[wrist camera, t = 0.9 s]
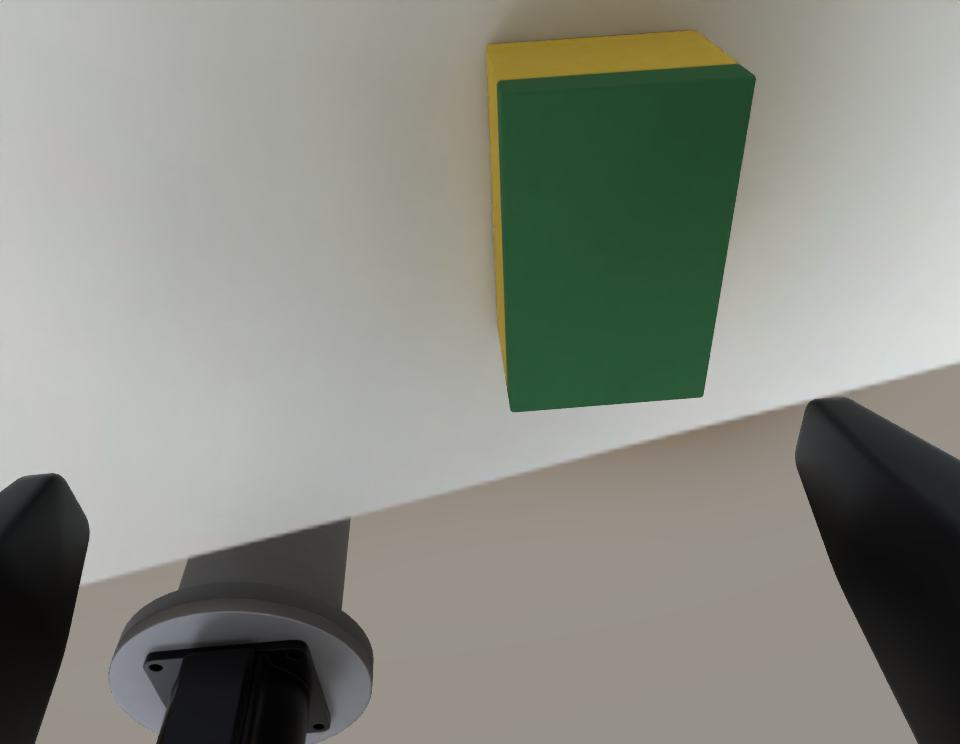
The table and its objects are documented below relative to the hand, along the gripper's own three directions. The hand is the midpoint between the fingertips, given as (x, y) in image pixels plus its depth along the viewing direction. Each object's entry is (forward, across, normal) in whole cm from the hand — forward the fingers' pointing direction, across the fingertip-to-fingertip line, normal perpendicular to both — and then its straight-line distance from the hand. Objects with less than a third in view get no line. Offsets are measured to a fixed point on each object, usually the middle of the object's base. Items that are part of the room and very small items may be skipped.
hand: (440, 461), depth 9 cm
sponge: (+12, -4, +2) cm, 13 cm away
